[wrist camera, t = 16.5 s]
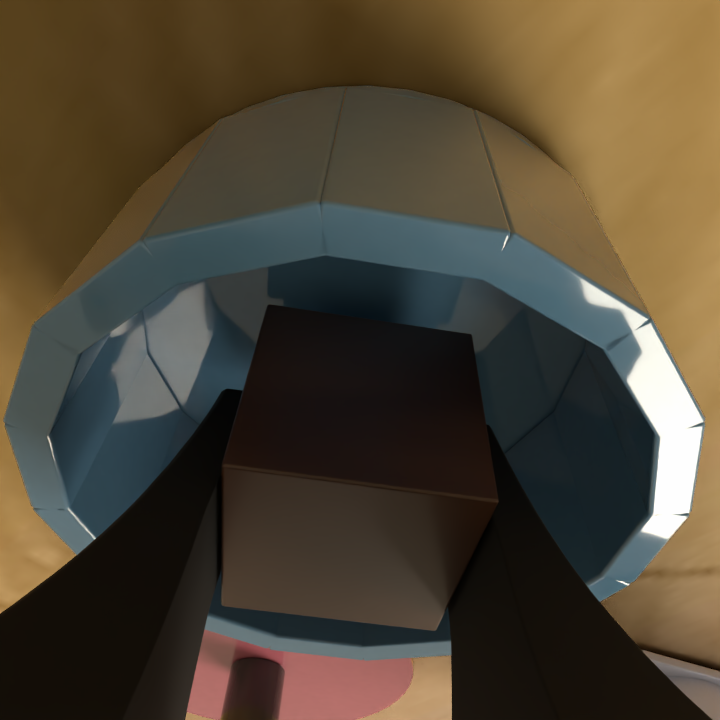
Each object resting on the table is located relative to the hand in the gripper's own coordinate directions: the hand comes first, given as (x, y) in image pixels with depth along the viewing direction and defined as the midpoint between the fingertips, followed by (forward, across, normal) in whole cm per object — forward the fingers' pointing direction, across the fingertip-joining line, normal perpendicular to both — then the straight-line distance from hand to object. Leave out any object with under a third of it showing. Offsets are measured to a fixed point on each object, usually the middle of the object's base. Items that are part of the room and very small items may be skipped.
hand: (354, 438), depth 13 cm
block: (+1, 0, 0) cm, 1 cm away
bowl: (+4, 0, 0) cm, 4 cm away
